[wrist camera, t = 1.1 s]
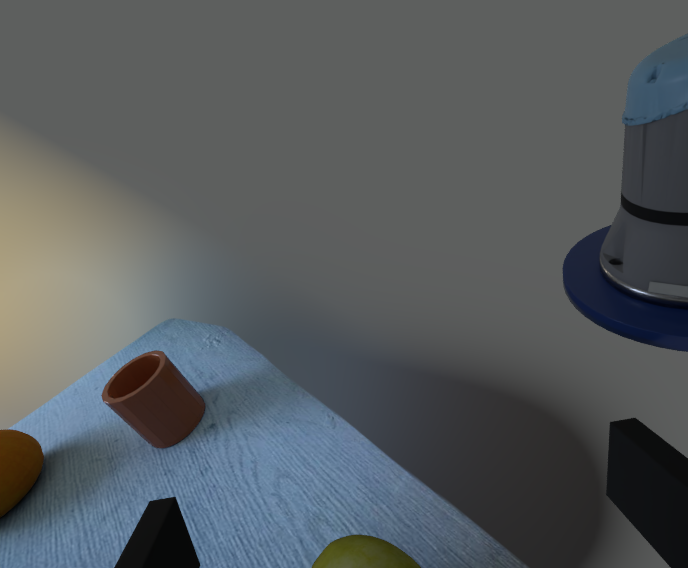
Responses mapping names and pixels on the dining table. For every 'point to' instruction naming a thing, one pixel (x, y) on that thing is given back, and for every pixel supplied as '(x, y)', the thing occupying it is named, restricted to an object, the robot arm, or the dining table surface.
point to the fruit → (17, 467)
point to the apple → (363, 554)
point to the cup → (154, 399)
